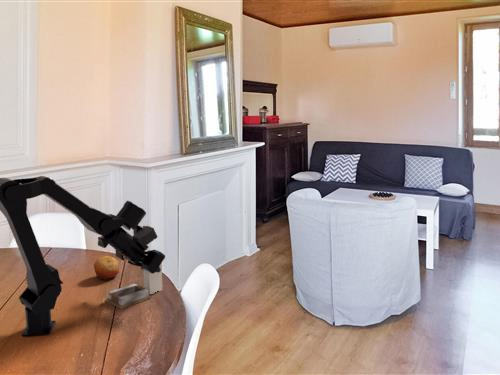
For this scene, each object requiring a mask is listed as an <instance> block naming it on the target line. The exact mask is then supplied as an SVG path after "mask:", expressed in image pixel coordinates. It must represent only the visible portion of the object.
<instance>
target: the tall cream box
mask: <svg viewBox="0 0 500 375" xmlns="http://www.w3.org/2000/svg"><path fill="white" fill-rule="evenodd" d="M159 267H160V269H161V271H160V272H155V273H153V274H152V273H150V272H147V271H145V270H143V283H144V284H143V288H145V289H147V290H148V291H149V295H150V294H151V295H152V294H153V295H154V294H156V293H158V292H157V291H159V292H162V291H163V262H162V263H161V264H160V266H159ZM161 290H162V291H161ZM155 292H156V293H155Z"/></svg>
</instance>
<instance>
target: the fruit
mask: <svg viewBox="0 0 500 375" xmlns="http://www.w3.org/2000/svg"><path fill="white" fill-rule="evenodd" d="M93 269H94V273H95V275H96V277H98V278H99V279H102V280H105V281H107V280H109V279H112V278H114V277H116V276H117V275H118V274H119V273H120V262H119V261H118V260H117V259H116V257H113V256H111V255H110V256H109V255H103V256H101V257H99V258H98V259H97V260H95V262H94V263H93Z"/></svg>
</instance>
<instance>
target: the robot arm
mask: <svg viewBox="0 0 500 375" xmlns="http://www.w3.org/2000/svg"><path fill="white" fill-rule="evenodd" d="M42 195H43V196H45V197H47V198H49V199H50V200H51V201H53V202H54V203H56V204H57V205H59V206H60V207H62V208H63V209H64V210H66V211H68V212H69V213H71V214H72V215H74V216H75V218H77V219H78V221H79V222H80V223H81V224H82V225H83V227H85V228H86V230H88V231H89V232H92V233H94V234H96V235H100V236H98V237H97V239H98V240H97V246H98V247H101V248H103V249H107V247H108V246H111V247H112V248H113V249H114V250H115V258H117V259H119V260H121V261H123V262H125V260H126V261H127V264H130V265H132V266H135V267H139V268H140V269H141V270H143V271H144V270H145V271H147V272H150V273H152V274H153V273H155V272H160V271H161V269H160V267H159V266H160V264H161V263H162V264H163V262H164V260H165V258H166V255H165V254H164V253H163V252H162V251H161V250H156V249H151V250H148V249H149V246H148V245H149V244H150V243H152V242H153V241H155V240H156V239H158V235H157V232H156V230H155V228H154V227H152V226H149V225H142V226H141V225H139V224H141V222H142V220H143V219H144V217H145V216H146V215H147V212H146V211H145V210H144V209H143V208H142V207H140V206H138V205H137V204H135V203H133V202H132V201H130V200H126V201H125V202H124V204H123V205H122V207H121V209H119V211H118V212H117V214H116V215H114V214H112V213H111V214H110V213H108V214H107V213H105V212H103V211H101V210H98V209H97V208H94V207H92V206H89V205H88V204H86V203H85V202H84V201H83V200H81V199H79V198H78V197H77V196H75V195H74V194H72V193H71V192H69V191H68V190H67V189H65V188H64V187H63V186H61V185H59V184H58V183H57V182H56V181H55V180H54V179H53V178H51V177H49V176H48V177H47V176H44V175H39V176H35V177H27V178H16V179H10V178H7V177H0V212H1V213H2V214H3V216H4V218H6V221H7V223H8V226H9V228H10V230H11V233H12V236H13V239H14V240H15V243H16V246H17V247H18V250H19V253H20V255H21V258H22V261H23V262H24V265H25V268H26V269H25V270H26V275H25V278H26V279H25V280H26V284H27V287H25V289H24V290H23V292H22V293H21V294H20V295H19V297H18V300H19V301H20V304H21V305H23V306H24V307H25V308H24V312H25V325H26V327H25V328H24V330H23V332H22V333H21V337H32V336H33V337H34V336H45V335H50V334H52V331H53V329H54V328H55V325H56V323H57V321H56V320H52V310H54V309H55V306H56V304H57V300H58V298H59V296H60V294H61V293H62V291H63V290H62V284H64V282H63V281H62V280H61V278H60V272H59V270H58V269H57V268H56V267H54V266H52V265H50V264H48V263H47V264H46V261H45V258H44V256H43V252H42V250H41V247H40V244H39V242H38V239H37V238H36V235H35V233H34V229H33V226H32V224H31V221H30V219H29V216H28V214H27V213H28V212H27V210H28V200H29V199H33V198H36V197H39V196H42ZM125 229H126V230H127V231H131V230H133V232H132V233H133V235H132V234H130V233H129V232H127V231H126V230H125Z"/></svg>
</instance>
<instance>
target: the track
mask: <svg viewBox="0 0 500 375" xmlns="http://www.w3.org/2000/svg"><path fill="white" fill-rule="evenodd" d="M107 293H108V297H107V298H105V300H106V302H108V303H110V304H112V305H113V306H116V307H117V308H118V309H120V310H123V309H125V308H127V307H130V306H133V305H136V304H139V303H141V302H145V301H147V300H151V299H152V296H151V295H150V294H149V291H148V290H147V289H145V288H144V286H141V285H139V284H137V283H133V284H130V285H127V286H123V287H120V288H117V289H113V290H111V291H108V292H107Z"/></svg>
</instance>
